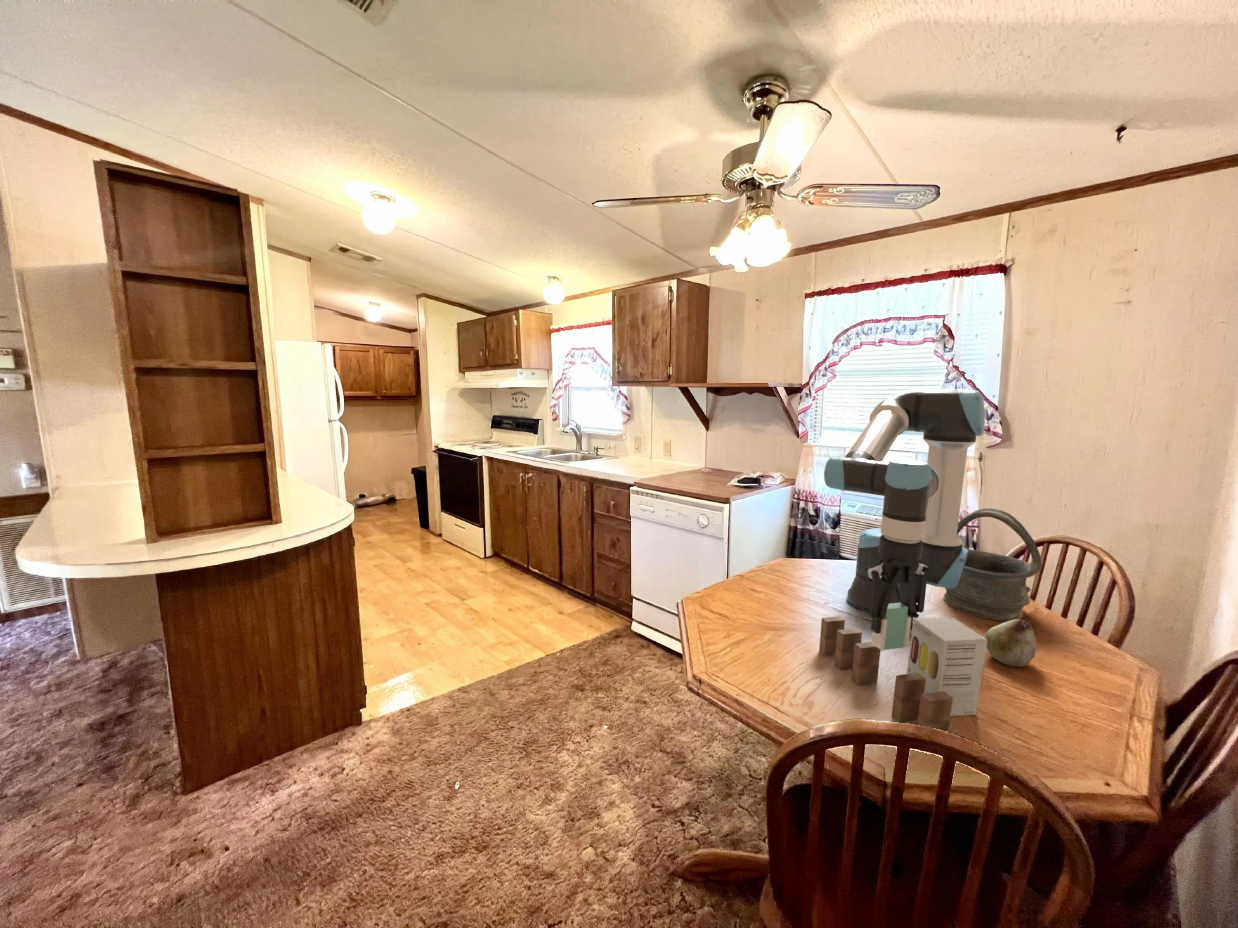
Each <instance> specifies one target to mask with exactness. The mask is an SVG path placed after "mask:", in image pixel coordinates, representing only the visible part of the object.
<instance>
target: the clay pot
mask: <svg viewBox="0 0 1238 928" xmlns="http://www.w3.org/2000/svg"><path fill="white" fill-rule="evenodd" d="M979 518H991V519H995V520H998V521H1001V522H1002V523H1004V524H1005V525H1006V526H1008V527H1009V528H1010V529H1012V530H1013V532H1014V533H1016V534H1017V535H1018V536H1019V537H1020V538H1021V539H1022V541H1023V542H1024V544H1025V545H1026V547H1027V549H1028V551H1029V553H1030V556H1031V562H1028V561H1025V560H1021V559H1019V558H1015V557H1012V556H1008V555H1003V554H999V553H993V552H988V551H984V550H983V551H982V550H976V549H967V550H968V555H967V559H966V562H965V565H964V568H963V572H962V575H961V577H960V580H959V583H958V585H957V587H955V588H953V589H948V588H944V589H945V593H944V595H943V597H944V600H945V602H947V604H948V605H950V606H952V608H955V610H959V611H960V612H964V613H966V614H969V615H971V616H976V617H978V618H979V617H980V618H983V619H988V620H994V621H1005V622H1008V621H1011V620H1015V619H1020V620H1021V618H1022V617H1023V615H1024V611H1023V609H1024V607H1025V606H1026V607H1027V606H1028V605H1030V603H1031V600H1030V597H1029V593H1030V592H1031V588H1030V587H1029V586H1027V579H1028V578H1030V577H1034V576H1035V575H1037V574H1038V573H1040V571H1041V569H1042V564H1043V563H1042V556H1041V553H1040V551H1039V549H1038V547H1037V544H1036V543H1035V541H1034V539H1033V538H1032V535H1031V534H1030V533H1029V532H1028V530H1027V529H1026V528H1025V526H1024V525H1023V523H1021V521H1019V519H1017V518H1016V517H1015V516H1013V515H1012V514H1011V513H1008V512H1007V511H1005V510H1003V509H998V508H992V507H990V508H989V507H987V508H986V507H985V508H981V509H977V510H975V511H973V512H971V513H969V514H967V515H966V516H964V517H963V518H962V519H960V520H959V521H958V529H957V536H958V535H959V533H960V532H961V531H962V530H963V529H964V527H965V526H966V525H968V524H969V523H971V522H972V521H974V520H976V519H979ZM958 537H959V536H958Z"/></svg>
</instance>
